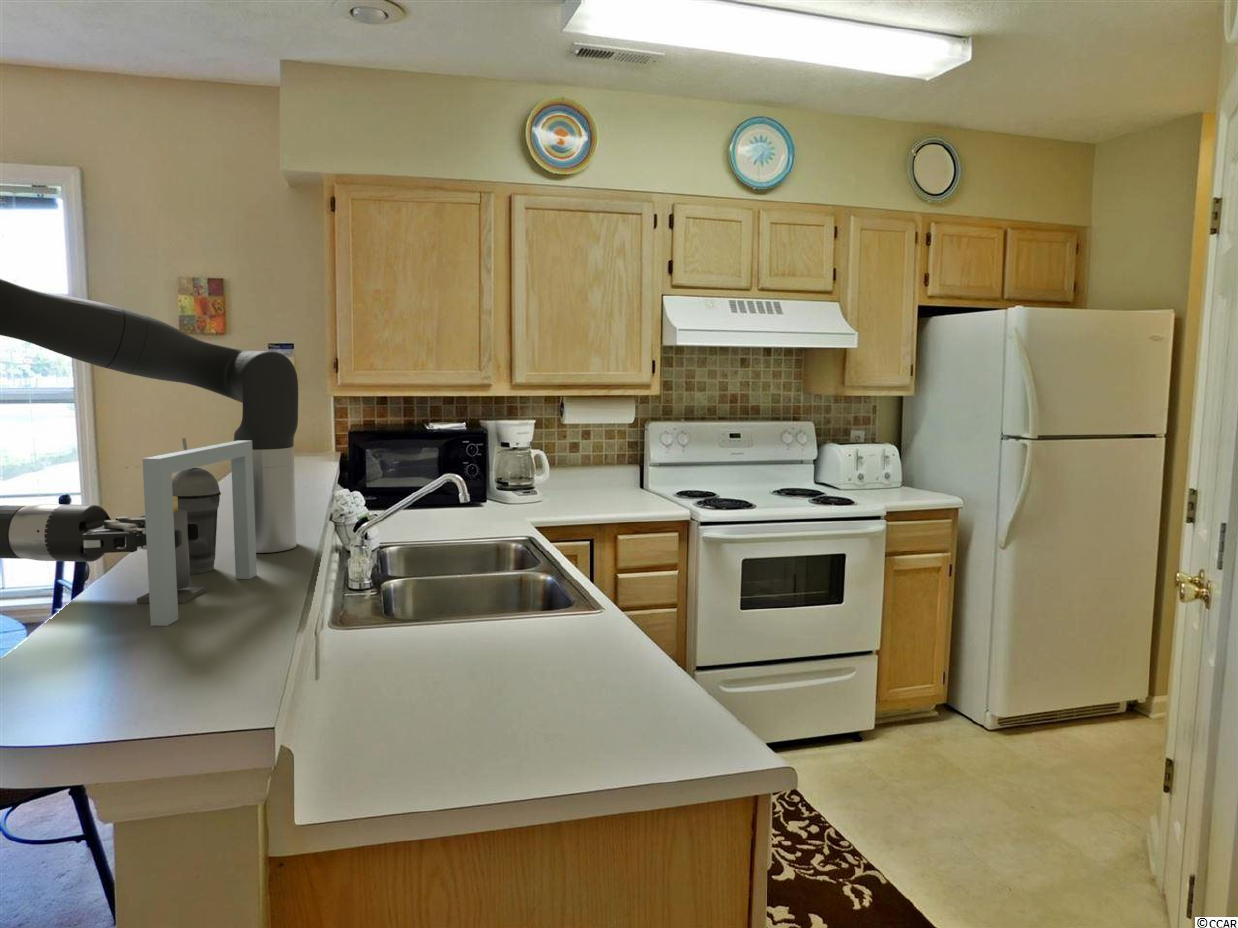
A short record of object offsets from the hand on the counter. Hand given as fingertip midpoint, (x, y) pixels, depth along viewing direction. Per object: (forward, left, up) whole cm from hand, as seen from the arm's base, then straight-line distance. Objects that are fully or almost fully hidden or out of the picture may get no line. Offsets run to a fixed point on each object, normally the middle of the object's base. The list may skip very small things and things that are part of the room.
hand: (189, 534), depth 113 cm
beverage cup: (-15, -7, -9) cm, 19 cm away
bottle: (0, -3, -7) cm, 8 cm away
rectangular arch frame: (0, +2, -8) cm, 9 cm away
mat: (0, -3, -8) cm, 9 cm away
